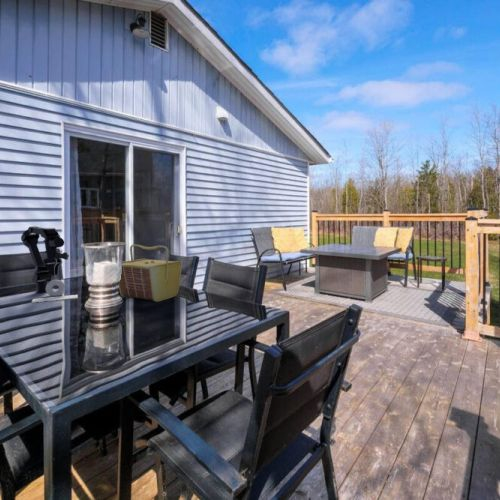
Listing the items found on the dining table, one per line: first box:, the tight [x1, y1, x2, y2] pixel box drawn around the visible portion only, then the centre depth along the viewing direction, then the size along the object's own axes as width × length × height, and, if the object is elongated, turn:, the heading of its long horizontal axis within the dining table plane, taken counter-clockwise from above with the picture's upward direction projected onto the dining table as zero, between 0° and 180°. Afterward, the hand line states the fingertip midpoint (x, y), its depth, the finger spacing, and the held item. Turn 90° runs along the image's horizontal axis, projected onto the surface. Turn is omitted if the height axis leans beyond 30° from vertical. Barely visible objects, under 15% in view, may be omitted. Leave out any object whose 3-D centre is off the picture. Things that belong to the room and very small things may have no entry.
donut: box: [45, 279, 66, 297], centre depth 195 cm, size 10×3×10 cm, turn 119°
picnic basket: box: [118, 243, 183, 303], centre depth 193 cm, size 29×26×30 cm
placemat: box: [31, 294, 79, 304], centre depth 189 cm, size 8×22×1 cm, turn 118°
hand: (54, 275), depth 198 cm, fingers open, 9 cm apart
